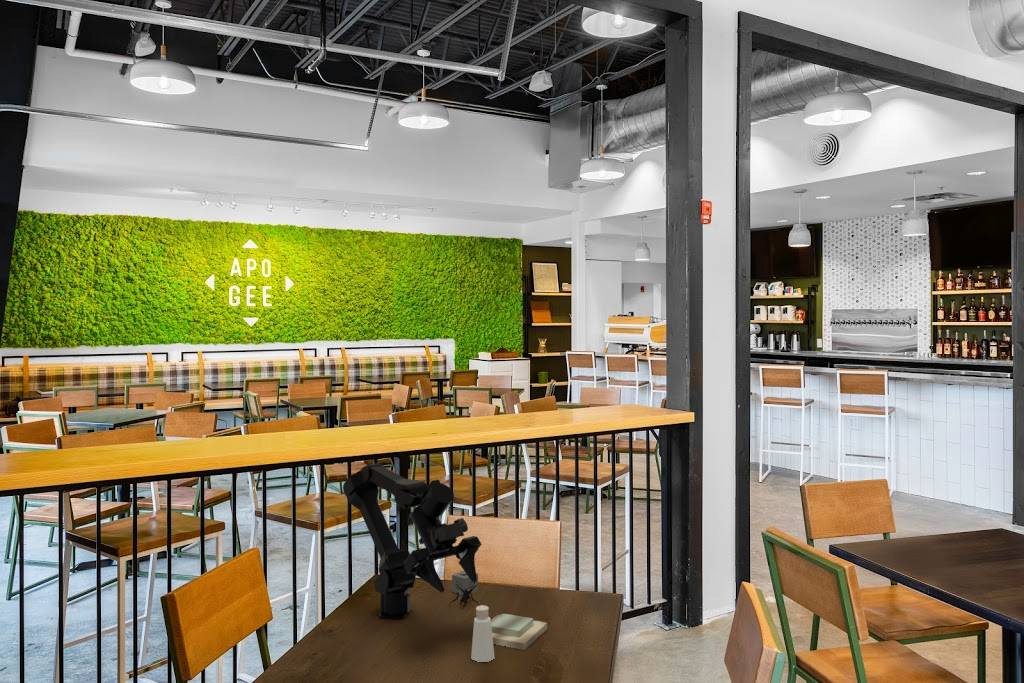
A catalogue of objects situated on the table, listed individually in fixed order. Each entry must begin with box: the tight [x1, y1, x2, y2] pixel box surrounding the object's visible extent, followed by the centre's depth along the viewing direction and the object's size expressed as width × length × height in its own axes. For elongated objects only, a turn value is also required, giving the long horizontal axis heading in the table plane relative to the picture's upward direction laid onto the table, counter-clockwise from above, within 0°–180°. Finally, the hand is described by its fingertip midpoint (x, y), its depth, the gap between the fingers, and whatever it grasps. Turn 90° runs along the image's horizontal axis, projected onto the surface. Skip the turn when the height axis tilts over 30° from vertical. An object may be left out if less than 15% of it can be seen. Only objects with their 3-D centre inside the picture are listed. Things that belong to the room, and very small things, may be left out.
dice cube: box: [451, 570, 479, 594], centre depth 204 cm, size 5×5×5 cm
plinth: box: [490, 613, 548, 651], centre depth 174 cm, size 13×13×3 cm
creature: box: [448, 585, 480, 610], centre depth 193 cm, size 8×5×8 cm
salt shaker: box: [470, 604, 496, 663], centre depth 162 cm, size 5×5×11 cm
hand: (459, 586), depth 168 cm, fingers open, 9 cm apart
